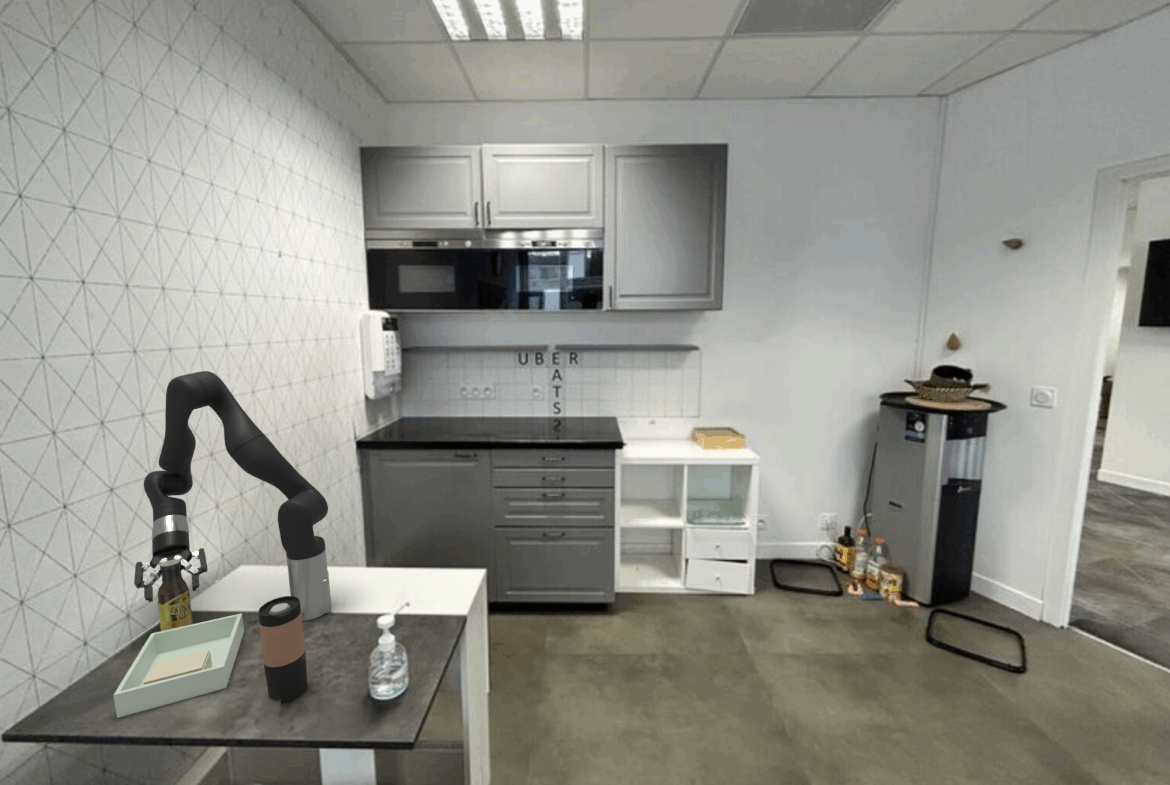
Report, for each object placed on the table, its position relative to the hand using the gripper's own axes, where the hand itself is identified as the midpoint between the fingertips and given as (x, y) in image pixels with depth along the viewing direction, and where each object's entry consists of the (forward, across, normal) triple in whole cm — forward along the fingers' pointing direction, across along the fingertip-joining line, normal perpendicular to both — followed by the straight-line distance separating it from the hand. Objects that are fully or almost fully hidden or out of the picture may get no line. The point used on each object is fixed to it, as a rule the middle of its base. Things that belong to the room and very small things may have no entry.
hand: (172, 595), depth 124 cm
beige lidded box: (+25, +2, -10) cm, 27 cm away
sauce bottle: (+8, 0, +8) cm, 12 cm away
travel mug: (+36, +21, -19) cm, 45 cm away
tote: (+21, +3, -5) cm, 22 cm away
